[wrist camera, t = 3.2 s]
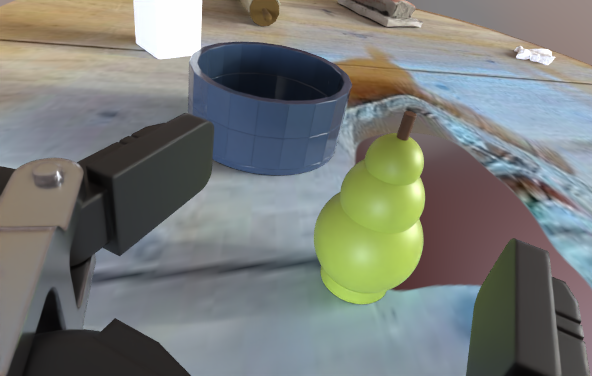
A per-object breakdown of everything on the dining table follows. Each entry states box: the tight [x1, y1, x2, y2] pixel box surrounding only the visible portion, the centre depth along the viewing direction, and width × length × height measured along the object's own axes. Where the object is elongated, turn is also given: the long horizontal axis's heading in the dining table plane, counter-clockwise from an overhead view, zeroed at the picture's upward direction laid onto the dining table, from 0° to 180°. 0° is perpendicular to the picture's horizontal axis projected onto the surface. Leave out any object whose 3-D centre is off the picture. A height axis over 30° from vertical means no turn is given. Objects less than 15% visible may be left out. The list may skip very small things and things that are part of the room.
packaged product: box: [337, 0, 423, 27], centre depth 91 cm, size 18×5×10 cm
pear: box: [314, 111, 425, 304], centre depth 24 cm, size 6×6×12 cm
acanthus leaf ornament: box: [514, 46, 555, 65], centre depth 83 cm, size 8×7×2 cm
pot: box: [188, 42, 352, 175], centre depth 39 cm, size 14×14×6 cm
